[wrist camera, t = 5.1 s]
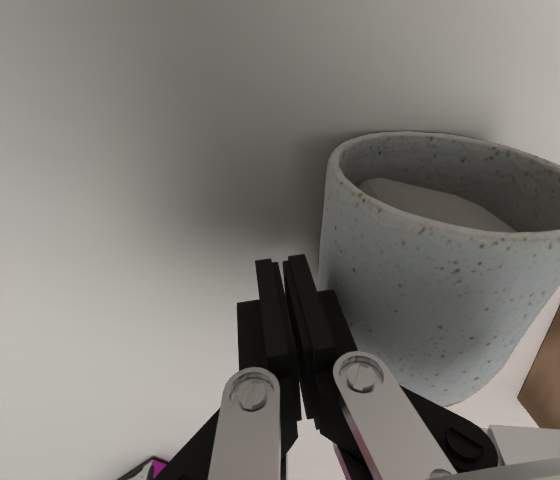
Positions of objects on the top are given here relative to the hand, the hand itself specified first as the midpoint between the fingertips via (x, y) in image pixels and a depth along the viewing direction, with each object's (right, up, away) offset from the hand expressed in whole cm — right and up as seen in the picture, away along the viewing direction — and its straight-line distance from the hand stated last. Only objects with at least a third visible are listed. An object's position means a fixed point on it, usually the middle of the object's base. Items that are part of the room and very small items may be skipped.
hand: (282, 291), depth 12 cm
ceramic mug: (+6, +3, +4) cm, 8 cm away
